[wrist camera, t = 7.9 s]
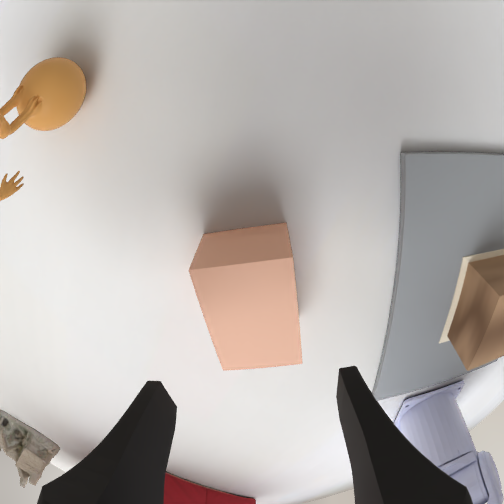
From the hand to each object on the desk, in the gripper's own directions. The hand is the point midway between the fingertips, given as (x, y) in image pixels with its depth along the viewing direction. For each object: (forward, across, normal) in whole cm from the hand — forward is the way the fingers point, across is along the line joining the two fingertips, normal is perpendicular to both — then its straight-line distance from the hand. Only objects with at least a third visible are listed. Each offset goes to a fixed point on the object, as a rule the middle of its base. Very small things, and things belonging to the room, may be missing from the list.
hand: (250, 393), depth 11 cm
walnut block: (+7, -17, +4) cm, 19 cm away
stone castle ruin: (+8, +57, +36) cm, 67 cm away
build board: (+8, -17, +4) cm, 19 cm away
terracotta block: (+8, 0, 0) cm, 8 cm away
